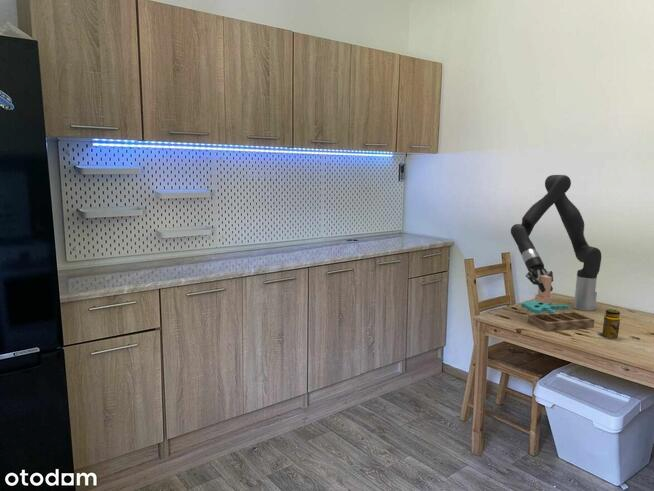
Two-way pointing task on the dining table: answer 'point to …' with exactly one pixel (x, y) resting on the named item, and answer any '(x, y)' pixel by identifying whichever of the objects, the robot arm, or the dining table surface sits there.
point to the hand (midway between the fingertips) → (547, 291)
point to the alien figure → (542, 307)
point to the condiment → (610, 325)
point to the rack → (560, 321)
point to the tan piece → (545, 296)
